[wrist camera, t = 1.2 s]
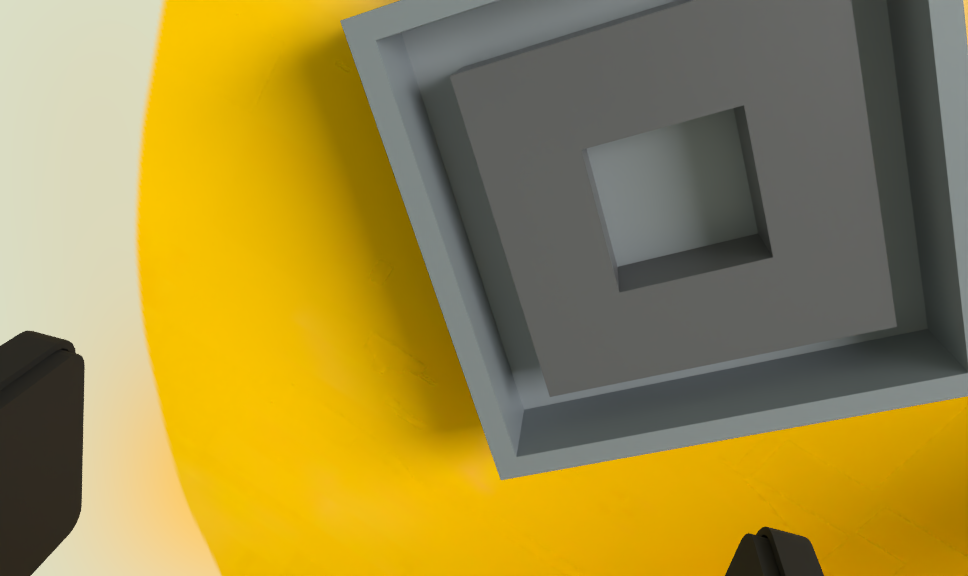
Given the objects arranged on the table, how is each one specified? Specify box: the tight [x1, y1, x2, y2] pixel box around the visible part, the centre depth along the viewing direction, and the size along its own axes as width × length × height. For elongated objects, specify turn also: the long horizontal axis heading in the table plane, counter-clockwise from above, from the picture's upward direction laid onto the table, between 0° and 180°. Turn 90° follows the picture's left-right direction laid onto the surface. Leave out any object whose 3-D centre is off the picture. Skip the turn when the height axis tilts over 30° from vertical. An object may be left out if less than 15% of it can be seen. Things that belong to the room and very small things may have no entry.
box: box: [341, 0, 968, 480], centre depth 31 cm, size 20×20×5 cm
